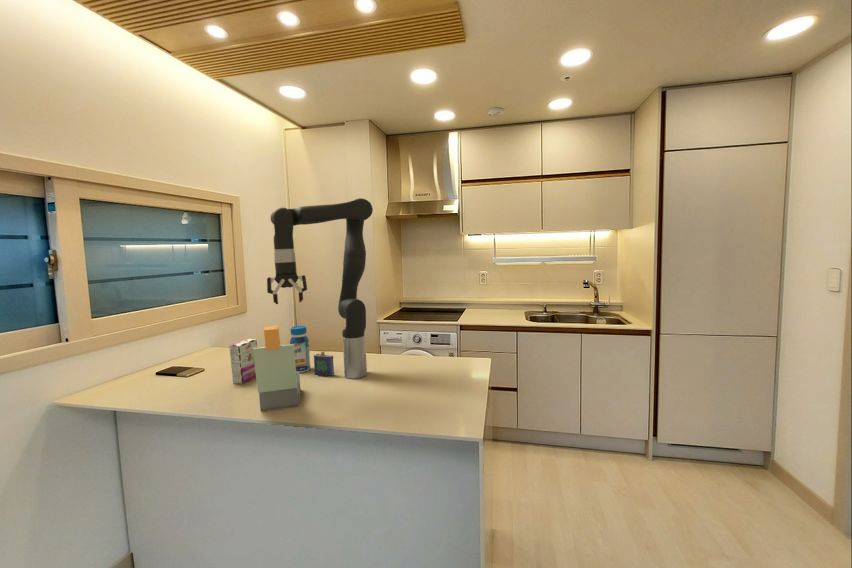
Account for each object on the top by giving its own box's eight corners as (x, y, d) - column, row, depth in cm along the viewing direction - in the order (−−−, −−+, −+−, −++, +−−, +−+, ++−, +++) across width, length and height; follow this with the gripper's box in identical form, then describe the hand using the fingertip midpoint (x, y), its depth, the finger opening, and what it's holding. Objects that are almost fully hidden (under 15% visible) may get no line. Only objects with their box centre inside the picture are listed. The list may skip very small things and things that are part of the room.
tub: (300, 389, 140) (299, 372, 139) (298, 406, 124) (296, 386, 124) (267, 394, 136) (265, 376, 136) (260, 411, 121) (258, 391, 120)
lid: (292, 323, 119) (291, 327, 115) (297, 385, 125) (296, 391, 121) (251, 326, 115) (249, 331, 112) (258, 389, 121) (256, 396, 118)
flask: (335, 374, 156) (333, 350, 155) (331, 377, 153) (330, 352, 152) (316, 373, 158) (315, 349, 157) (312, 375, 155) (311, 351, 154)
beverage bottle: (314, 368, 165) (312, 326, 163) (299, 374, 158) (296, 329, 156) (302, 366, 169) (300, 324, 167) (287, 371, 162) (284, 328, 160)
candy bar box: (250, 374, 159) (247, 338, 158) (260, 375, 158) (257, 338, 157) (231, 383, 149) (228, 345, 147) (242, 384, 148) (239, 345, 146)
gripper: (305, 260, 143) (308, 300, 145) (266, 261, 139) (270, 303, 141) (304, 260, 136) (307, 302, 138) (263, 262, 132) (267, 306, 133)
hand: (288, 302), depth 139 cm, fingers open, 8 cm apart
